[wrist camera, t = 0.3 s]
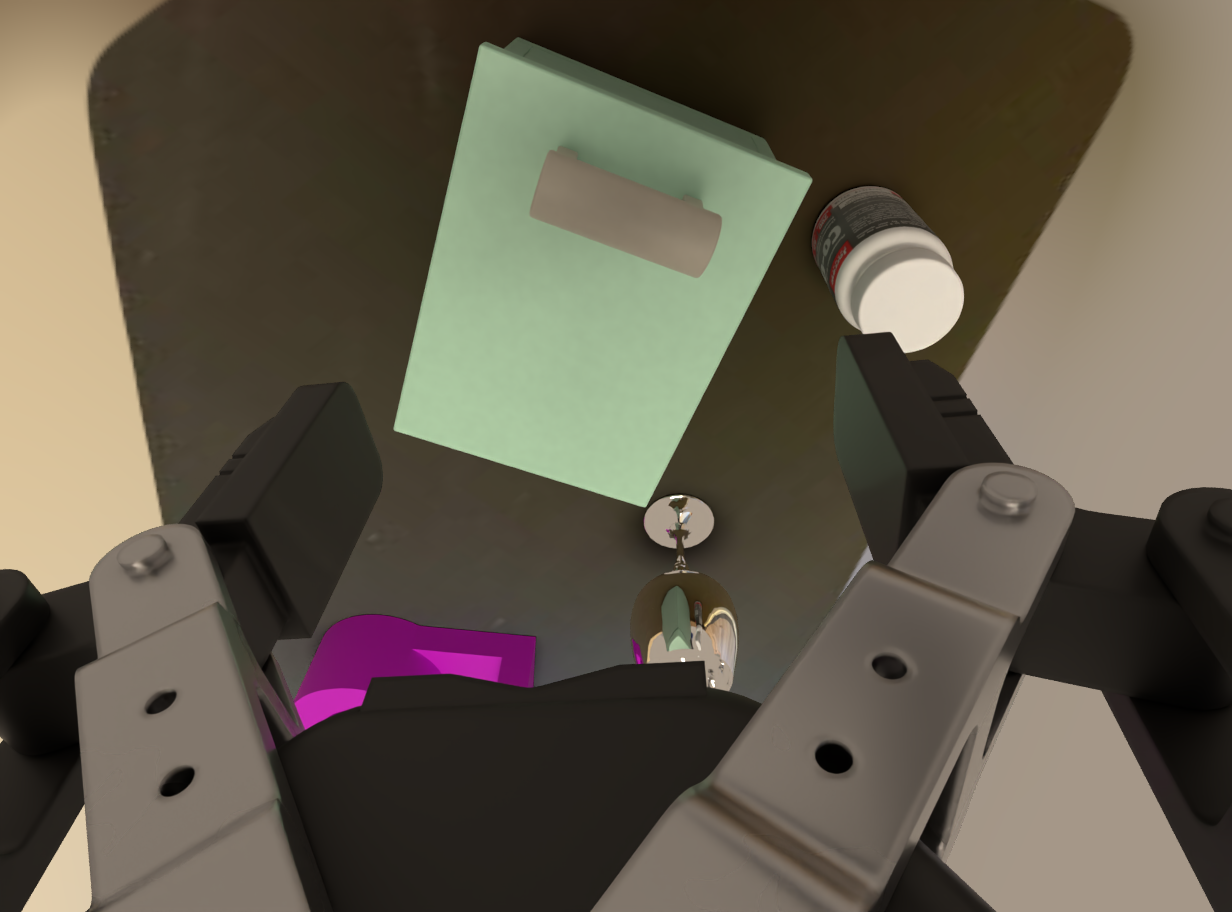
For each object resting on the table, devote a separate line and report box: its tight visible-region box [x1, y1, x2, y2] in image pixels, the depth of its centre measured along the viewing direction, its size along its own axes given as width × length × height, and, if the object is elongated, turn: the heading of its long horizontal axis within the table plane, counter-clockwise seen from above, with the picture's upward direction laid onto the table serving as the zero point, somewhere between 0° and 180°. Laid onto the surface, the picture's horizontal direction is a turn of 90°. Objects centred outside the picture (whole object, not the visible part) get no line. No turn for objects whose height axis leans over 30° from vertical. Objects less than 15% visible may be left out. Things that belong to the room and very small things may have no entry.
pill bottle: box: [812, 186, 964, 353], centre depth 32 cm, size 5×5×8 cm
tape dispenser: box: [294, 615, 536, 730], centre depth 53 cm, size 16×10×6 cm, turn 84°
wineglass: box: [630, 494, 739, 691], centre depth 42 cm, size 6×6×12 cm
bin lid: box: [394, 42, 812, 507], centre depth 27 cm, size 16×12×5 cm
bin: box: [504, 37, 776, 160], centre depth 33 cm, size 15×12×9 cm
